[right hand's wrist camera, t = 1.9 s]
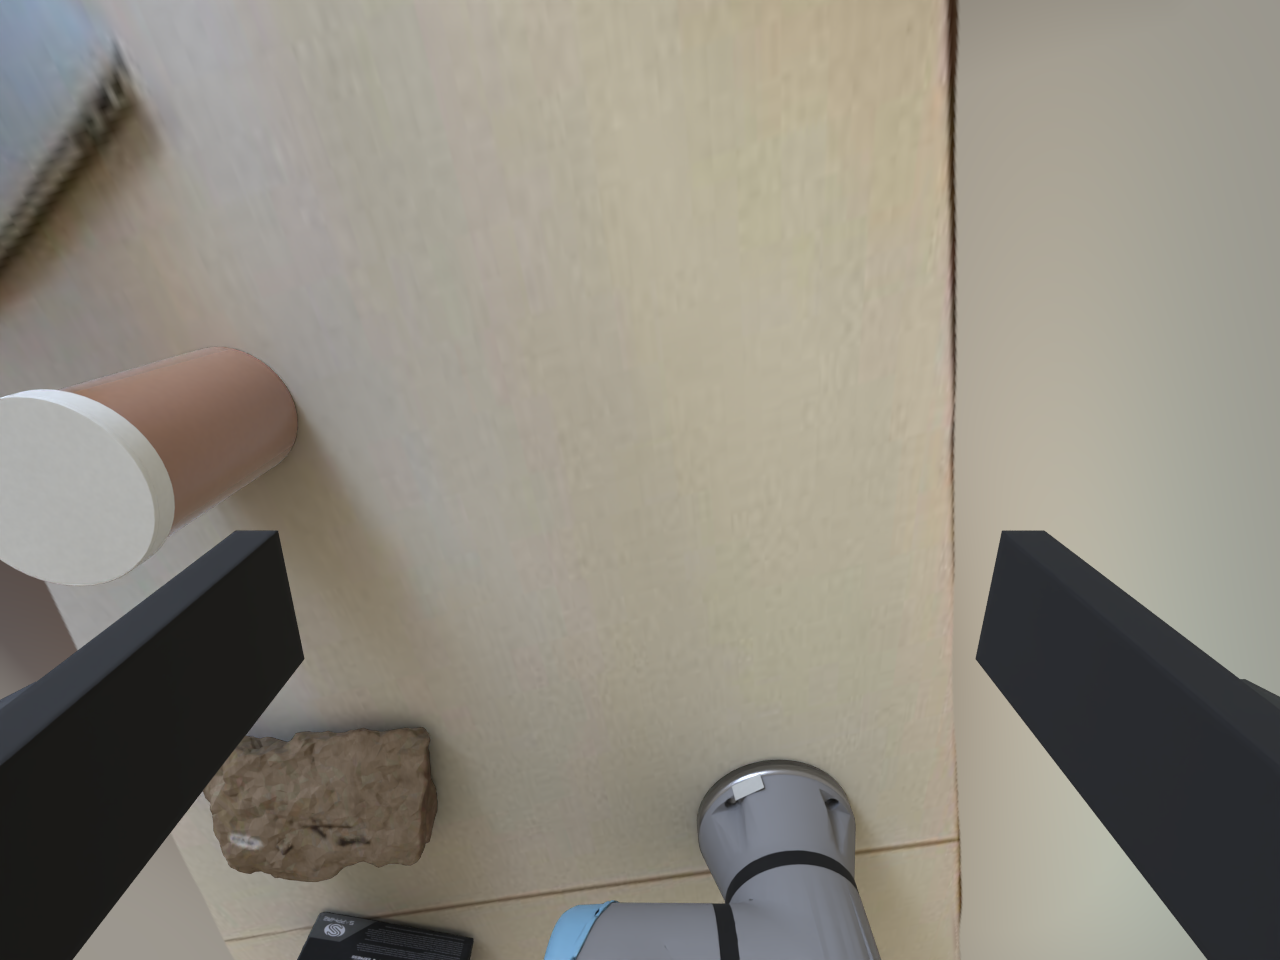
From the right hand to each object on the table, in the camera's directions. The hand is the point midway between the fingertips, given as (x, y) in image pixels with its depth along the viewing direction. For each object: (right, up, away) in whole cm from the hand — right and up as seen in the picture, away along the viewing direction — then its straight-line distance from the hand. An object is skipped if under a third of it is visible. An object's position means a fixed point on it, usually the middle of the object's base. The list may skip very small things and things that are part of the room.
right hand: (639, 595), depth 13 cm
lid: (-32, +1, +25) cm, 40 cm away
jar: (-32, +7, +41) cm, 52 cm away
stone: (-30, -26, +53) cm, 66 cm away
